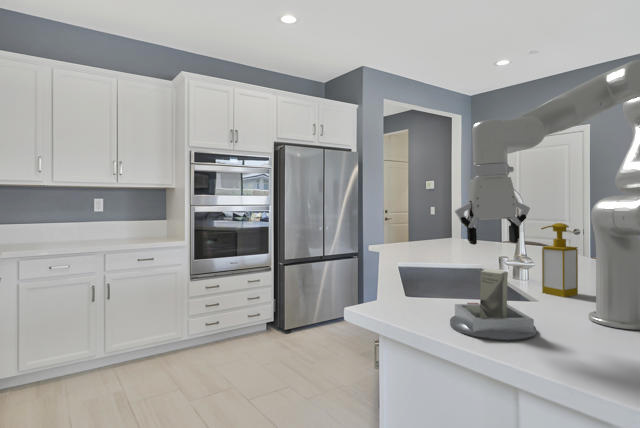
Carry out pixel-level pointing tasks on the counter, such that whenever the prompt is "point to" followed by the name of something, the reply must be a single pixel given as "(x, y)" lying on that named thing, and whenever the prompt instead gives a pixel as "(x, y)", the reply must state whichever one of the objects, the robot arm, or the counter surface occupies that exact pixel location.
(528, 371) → the counter surface
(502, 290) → the box
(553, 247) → the soap bottle
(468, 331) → the disc with square frame
